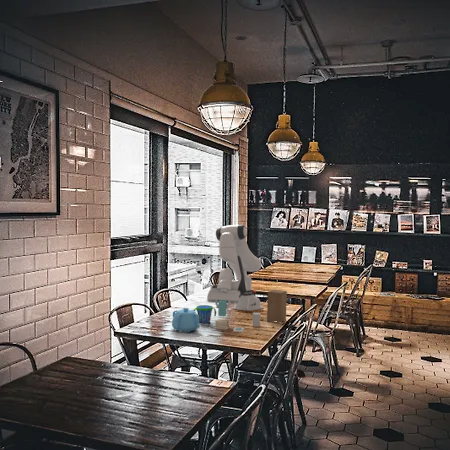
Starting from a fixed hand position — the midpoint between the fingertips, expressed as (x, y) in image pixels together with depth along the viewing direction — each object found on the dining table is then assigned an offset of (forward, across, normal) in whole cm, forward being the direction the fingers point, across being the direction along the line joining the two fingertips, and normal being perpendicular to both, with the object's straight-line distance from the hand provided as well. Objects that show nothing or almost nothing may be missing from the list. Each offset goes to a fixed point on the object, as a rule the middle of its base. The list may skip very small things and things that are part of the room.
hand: (222, 307), depth 314 cm
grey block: (+2, -21, -16) cm, 27 cm away
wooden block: (-10, -34, -28) cm, 45 cm away
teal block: (+3, 0, -4) cm, 5 cm away
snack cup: (0, +13, -19) cm, 23 cm away
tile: (+10, -11, -8) cm, 17 cm away
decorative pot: (+16, +21, -3) cm, 27 cm away
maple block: (+8, 0, -10) cm, 13 cm away
